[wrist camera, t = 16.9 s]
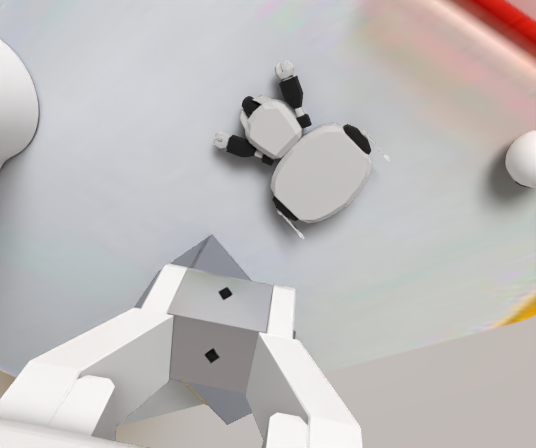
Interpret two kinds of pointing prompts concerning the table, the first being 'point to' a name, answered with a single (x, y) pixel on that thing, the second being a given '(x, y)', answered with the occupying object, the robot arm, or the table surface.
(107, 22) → the table surface
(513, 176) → the white egg
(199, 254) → the grey slotted holder
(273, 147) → the robot toy
